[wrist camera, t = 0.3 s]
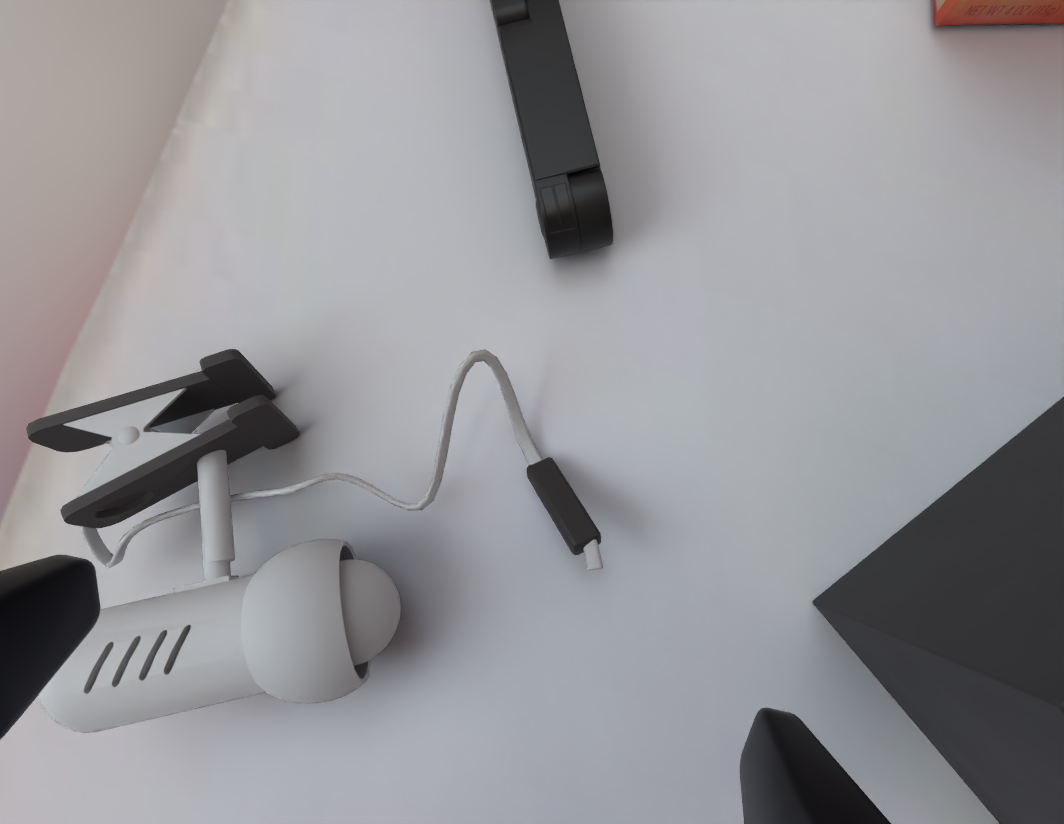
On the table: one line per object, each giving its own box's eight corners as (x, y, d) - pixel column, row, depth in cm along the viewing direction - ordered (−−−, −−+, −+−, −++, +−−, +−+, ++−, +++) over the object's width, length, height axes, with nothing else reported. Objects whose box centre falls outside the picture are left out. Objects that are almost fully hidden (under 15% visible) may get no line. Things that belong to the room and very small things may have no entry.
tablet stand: (613, 256, 23) (617, 219, 20) (549, 271, 23) (544, 237, 20) (522, -107, 26) (514, -184, 23) (467, -92, 27) (452, -167, 24)
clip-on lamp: (532, 350, 26) (89, 425, 23) (550, 275, 20) (-46, 364, 17) (599, 625, 23) (93, 752, 20) (645, 635, 17) (-72, 820, 14)
